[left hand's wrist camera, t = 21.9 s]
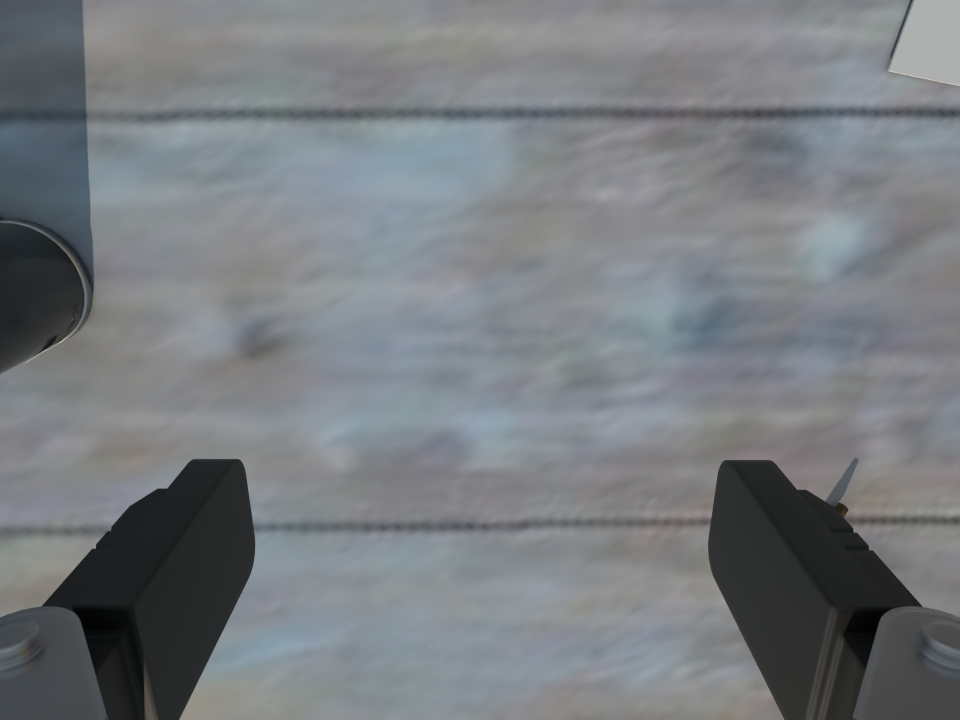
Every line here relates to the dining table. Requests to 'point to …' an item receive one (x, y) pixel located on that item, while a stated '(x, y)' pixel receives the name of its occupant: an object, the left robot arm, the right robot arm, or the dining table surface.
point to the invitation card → (930, 42)
